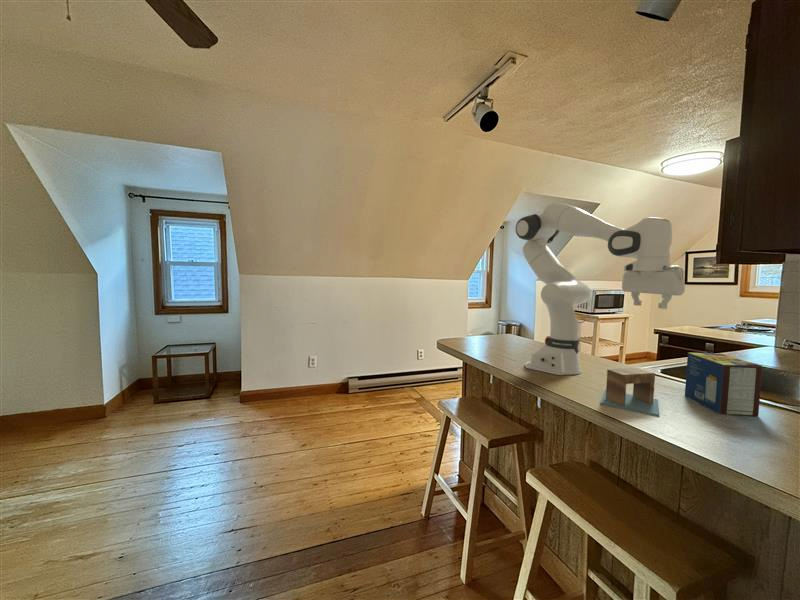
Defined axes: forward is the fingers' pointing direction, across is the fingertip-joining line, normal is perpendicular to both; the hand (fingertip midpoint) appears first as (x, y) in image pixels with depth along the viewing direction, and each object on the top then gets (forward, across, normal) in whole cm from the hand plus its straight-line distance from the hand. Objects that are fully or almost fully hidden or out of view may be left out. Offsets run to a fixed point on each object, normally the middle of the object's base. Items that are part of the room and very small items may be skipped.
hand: (649, 307), depth 112 cm
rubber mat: (+31, -6, +10) cm, 33 cm away
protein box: (+31, -12, -16) cm, 37 cm away
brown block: (+25, -6, +17) cm, 31 cm away
